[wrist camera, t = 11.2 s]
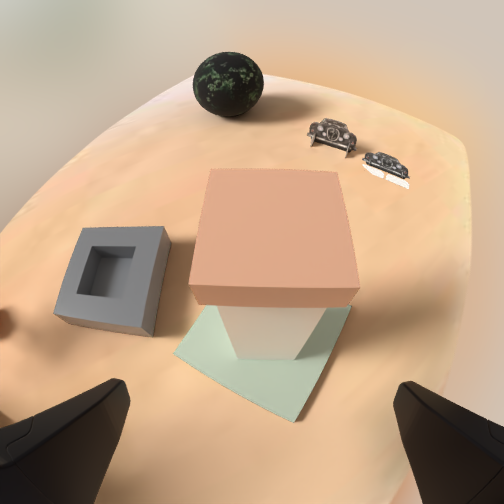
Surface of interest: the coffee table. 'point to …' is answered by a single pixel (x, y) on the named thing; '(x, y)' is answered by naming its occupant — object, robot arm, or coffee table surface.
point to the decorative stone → (228, 84)
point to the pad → (262, 362)
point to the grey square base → (115, 279)
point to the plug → (273, 256)
